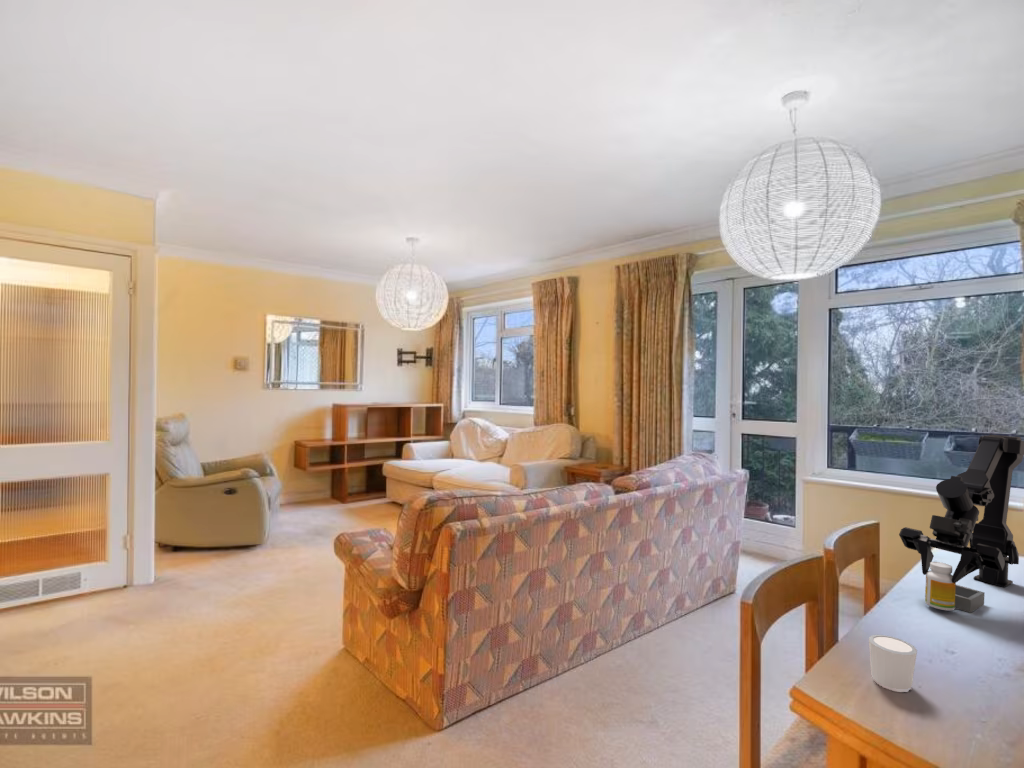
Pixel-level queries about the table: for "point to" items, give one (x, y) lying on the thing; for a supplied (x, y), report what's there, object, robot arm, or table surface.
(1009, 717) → the table surface
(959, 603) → the frame
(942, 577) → the supplement bottle
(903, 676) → the white cylinder
